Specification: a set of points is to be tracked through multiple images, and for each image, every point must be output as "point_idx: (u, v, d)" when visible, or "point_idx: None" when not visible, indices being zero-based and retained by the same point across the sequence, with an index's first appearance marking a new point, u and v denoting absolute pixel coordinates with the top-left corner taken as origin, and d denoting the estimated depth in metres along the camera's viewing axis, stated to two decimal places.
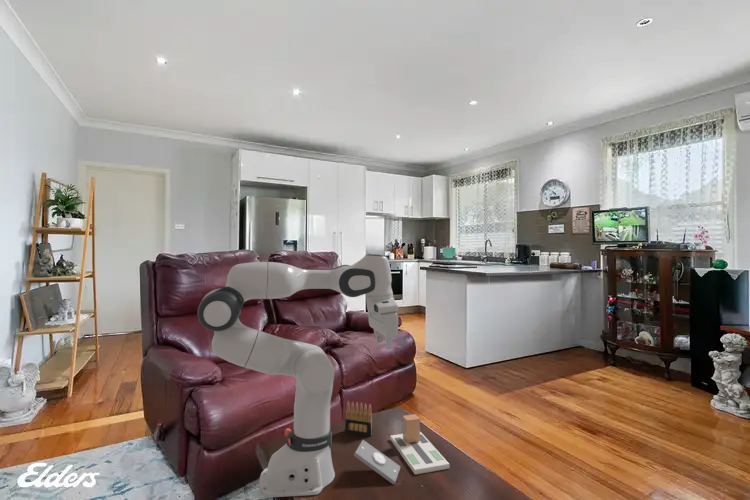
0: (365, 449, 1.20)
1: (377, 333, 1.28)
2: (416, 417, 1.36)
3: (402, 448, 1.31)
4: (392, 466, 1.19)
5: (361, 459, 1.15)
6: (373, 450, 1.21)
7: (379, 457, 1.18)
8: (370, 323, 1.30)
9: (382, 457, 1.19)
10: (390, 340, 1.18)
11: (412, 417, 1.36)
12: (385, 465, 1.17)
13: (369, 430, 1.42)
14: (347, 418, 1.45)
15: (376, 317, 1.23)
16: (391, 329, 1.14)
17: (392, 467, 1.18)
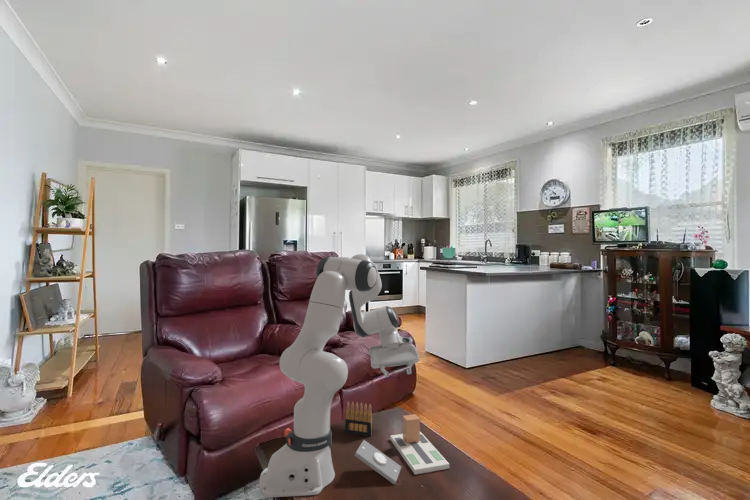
0: (366, 449, 1.20)
1: None
2: (416, 417, 1.36)
3: (402, 448, 1.31)
4: (393, 466, 1.19)
5: (362, 459, 1.15)
6: (374, 450, 1.21)
7: (380, 457, 1.18)
8: (378, 361, 1.54)
9: (383, 457, 1.19)
10: (411, 366, 1.57)
11: (412, 417, 1.36)
12: (386, 465, 1.17)
13: (369, 430, 1.42)
14: (347, 418, 1.45)
15: (393, 352, 1.58)
16: None
17: (392, 468, 1.18)
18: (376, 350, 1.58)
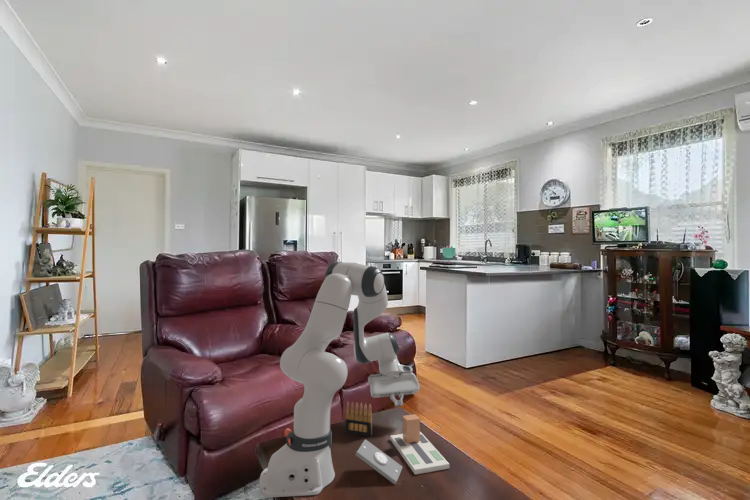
0: (367, 448, 1.20)
1: None
2: (416, 417, 1.36)
3: (402, 448, 1.31)
4: (394, 466, 1.19)
5: (363, 458, 1.16)
6: (375, 450, 1.22)
7: (381, 457, 1.18)
8: (379, 390, 1.48)
9: (384, 457, 1.19)
10: None
11: (412, 417, 1.36)
12: (387, 465, 1.17)
13: (369, 430, 1.42)
14: (347, 418, 1.45)
15: (393, 381, 1.53)
16: None
17: (393, 467, 1.18)
18: (376, 378, 1.52)
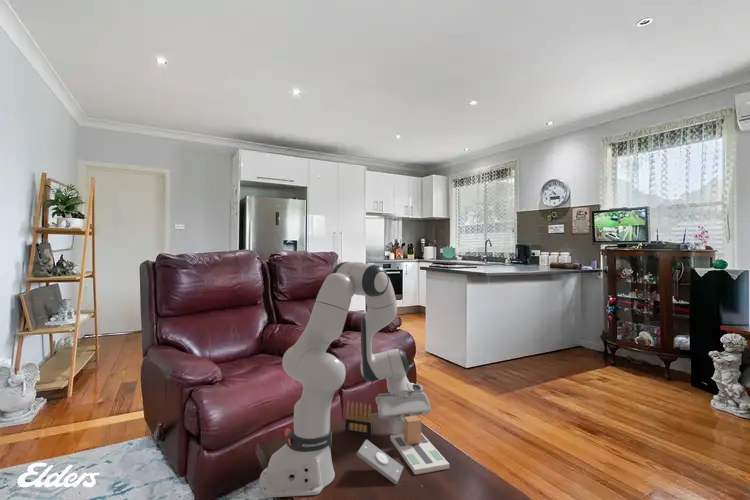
0: (368, 448, 1.20)
1: None
2: (417, 418, 1.35)
3: (402, 448, 1.31)
4: (395, 466, 1.19)
5: (364, 458, 1.16)
6: (376, 450, 1.22)
7: (382, 457, 1.18)
8: (387, 411, 1.39)
9: (385, 457, 1.19)
10: None
11: (413, 418, 1.35)
12: (388, 465, 1.17)
13: (369, 430, 1.42)
14: (347, 418, 1.45)
15: (402, 401, 1.43)
16: None
17: (394, 468, 1.18)
18: (384, 398, 1.42)
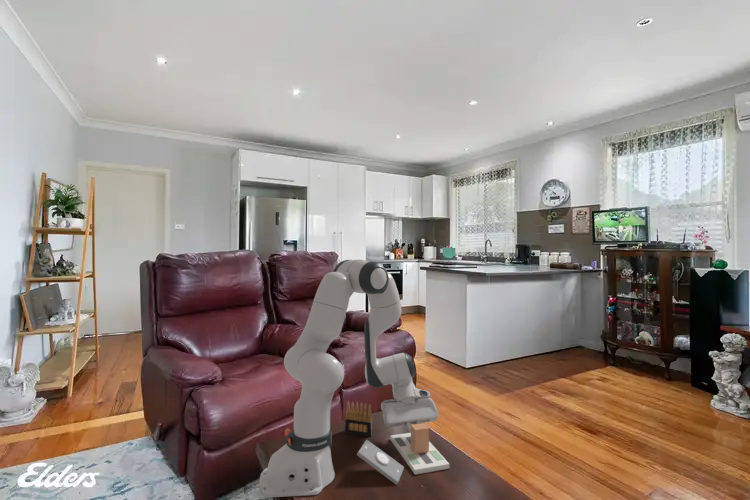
0: (369, 449, 1.20)
1: None
2: (425, 426, 1.29)
3: (402, 448, 1.31)
4: (396, 466, 1.19)
5: (364, 459, 1.16)
6: (377, 450, 1.21)
7: (382, 457, 1.18)
8: (393, 418, 1.32)
9: (385, 457, 1.19)
10: None
11: (421, 426, 1.29)
12: (388, 465, 1.17)
13: (369, 430, 1.42)
14: (347, 418, 1.45)
15: (409, 408, 1.37)
16: None
17: (395, 468, 1.18)
18: (390, 405, 1.36)
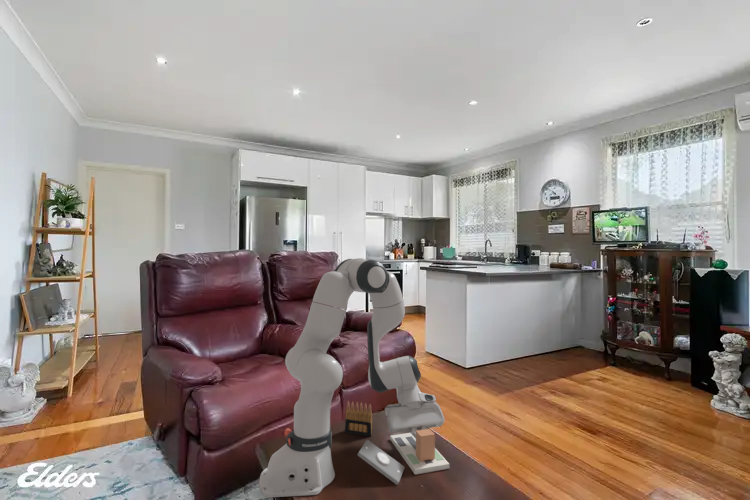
0: (369, 449, 1.20)
1: None
2: (431, 432, 1.25)
3: (402, 448, 1.31)
4: (396, 466, 1.19)
5: (365, 459, 1.15)
6: (377, 450, 1.21)
7: (383, 457, 1.18)
8: (398, 424, 1.28)
9: (386, 457, 1.19)
10: None
11: (426, 432, 1.25)
12: (389, 465, 1.17)
13: (369, 430, 1.42)
14: (347, 418, 1.45)
15: (414, 412, 1.33)
16: None
17: (396, 468, 1.18)
18: (395, 410, 1.31)
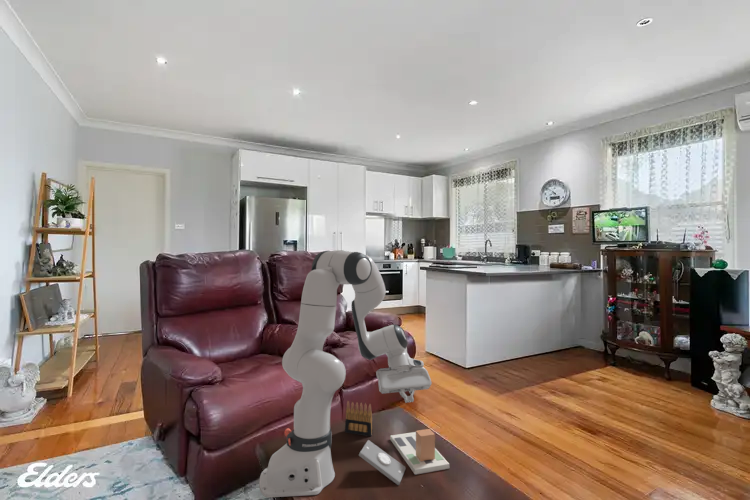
0: (370, 449, 1.20)
1: None
2: (431, 432, 1.25)
3: (402, 448, 1.31)
4: (397, 466, 1.18)
5: (366, 459, 1.15)
6: (378, 450, 1.21)
7: (384, 457, 1.18)
8: (388, 385, 1.38)
9: (387, 457, 1.19)
10: (413, 393, 1.40)
11: (426, 432, 1.25)
12: (390, 466, 1.17)
13: (369, 430, 1.42)
14: (347, 418, 1.45)
15: (403, 376, 1.43)
16: None
17: (397, 468, 1.17)
18: (385, 373, 1.42)
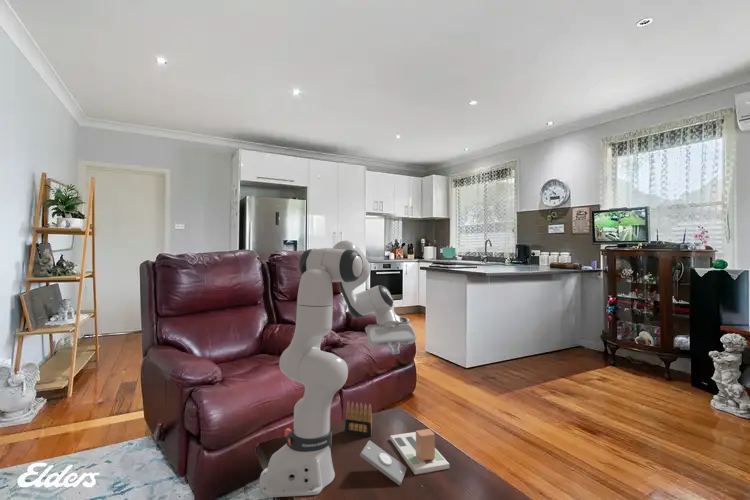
0: (372, 449, 1.20)
1: None
2: (431, 432, 1.25)
3: (402, 448, 1.31)
4: (399, 467, 1.18)
5: (367, 459, 1.15)
6: (379, 451, 1.21)
7: (385, 458, 1.18)
8: (375, 338, 1.50)
9: (388, 458, 1.19)
10: (399, 346, 1.52)
11: (426, 432, 1.25)
12: (391, 466, 1.17)
13: (369, 430, 1.42)
14: (347, 418, 1.45)
15: (390, 331, 1.55)
16: None
17: (398, 468, 1.17)
18: (373, 328, 1.54)
